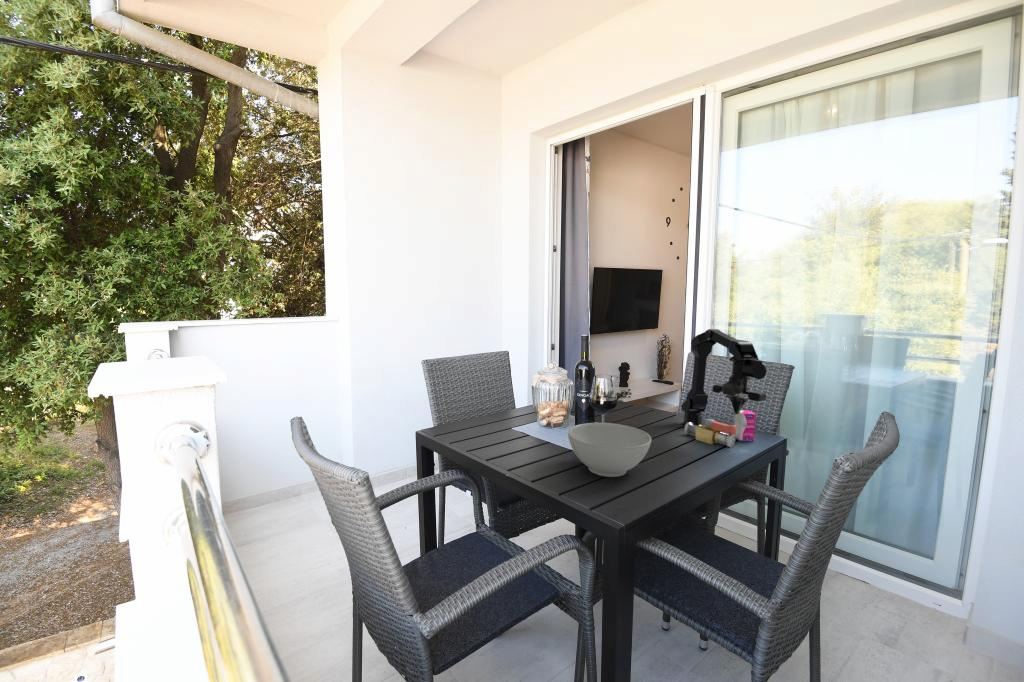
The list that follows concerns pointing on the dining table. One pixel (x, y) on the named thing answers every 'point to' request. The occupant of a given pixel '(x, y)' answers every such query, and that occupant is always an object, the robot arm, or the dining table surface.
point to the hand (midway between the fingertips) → (736, 414)
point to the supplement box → (745, 425)
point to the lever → (720, 426)
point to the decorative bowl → (609, 447)
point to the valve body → (709, 434)
